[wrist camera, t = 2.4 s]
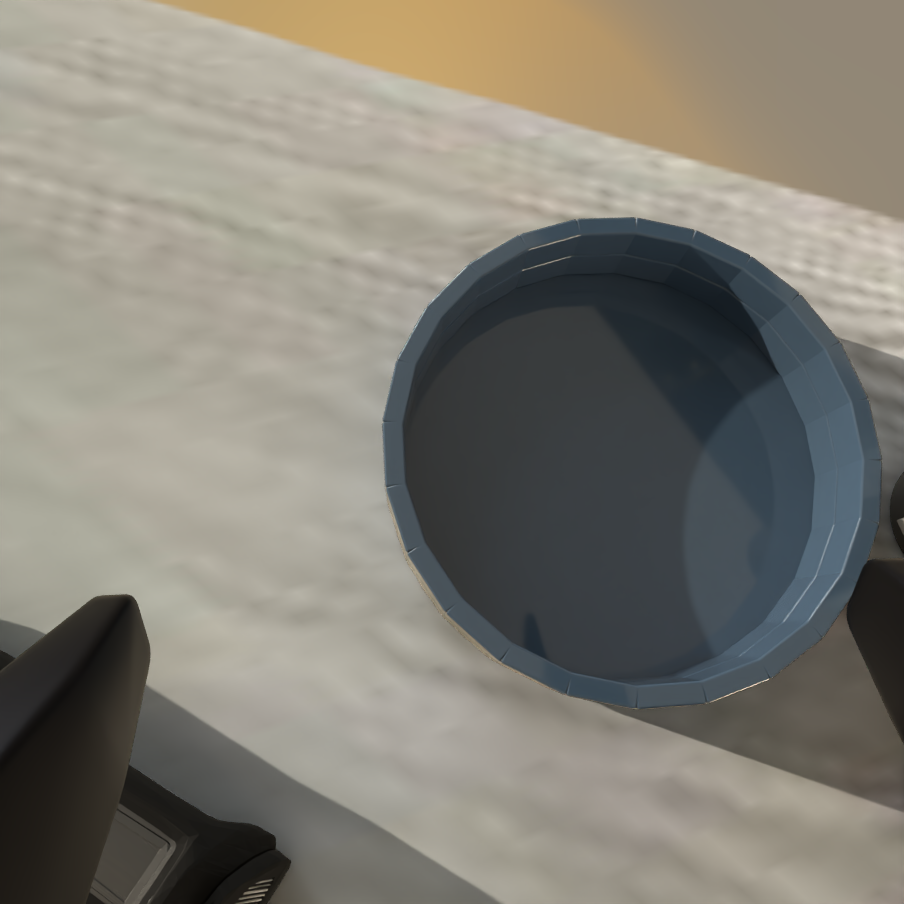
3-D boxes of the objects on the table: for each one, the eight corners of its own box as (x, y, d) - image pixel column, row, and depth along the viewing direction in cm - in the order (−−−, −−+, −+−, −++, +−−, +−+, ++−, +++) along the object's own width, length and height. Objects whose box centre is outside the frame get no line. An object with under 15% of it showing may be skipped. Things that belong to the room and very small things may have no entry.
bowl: (876, 376, 24) (940, 341, 21) (734, 783, 21) (788, 808, 18) (501, 201, 25) (514, 144, 22) (304, 565, 21) (288, 554, 19)
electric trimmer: (-122, 536, 21) (-214, 519, 18) (304, 845, 20) (283, 884, 16) (-220, 646, 20) (-334, 648, 17) (219, 979, 19) (180, 1046, 16)
